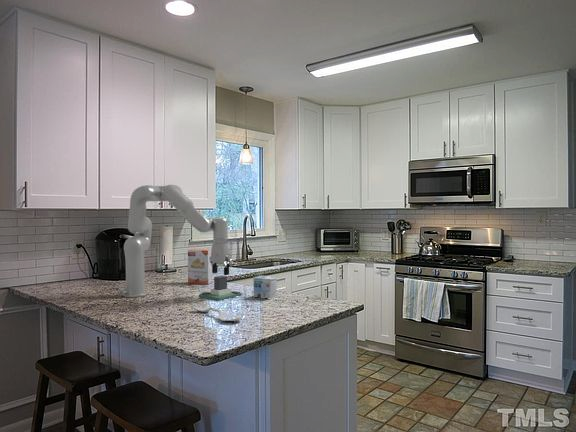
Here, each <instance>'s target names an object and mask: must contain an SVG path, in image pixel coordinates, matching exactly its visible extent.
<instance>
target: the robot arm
mask: <svg viewBox="0 0 576 432" xmlns="http://www.w3.org/2000/svg"><path fill="white" fill-rule="evenodd" d="M129 201H130V202H129V212H128V220H127V221H128V223H127V229H128V232H130V233H131V234H133V235H134V236H131V237H129V238H127V239H125V242H124V244H123V251H124V257H125V261H124V262H125V286H124V287H123V288H122V289H117V290H116V294H117V295H122V296H123V297H124V298H139V297H145V296H147V295H148V293H149V292H148V291H146V289H145V287H146V285H145V279H146V278H145V257H144V253H145V252H146V251H148V250H149V249H150V248H151V247H150V246H151V243H152V242H151V241H152V231H153V226H152V220H151V219H150V217H148V216H146V215H147V205H146V204H147V202H168V203H169V204H170V205H171V206H172V207H174V208H175V210H176V211H177V212H179V213H180V214H181V216H182V217H183V218H184V219H185V220H186V221H187V223H189V225H191V226H192V227H193V228H194V229H196V230H197V231H198V232H200V233H208V232H213V233H212V234H213V235H212V236H213V237H212V241H213V243H212V245H211V249H210V250H211V256H210V257H209V259H210V262H211V265H212V274H218V271H219V269H218V264H222V265H223V266H224V267H223V276H228V275H230V267H231V265H232V262H233V259H232V258H231V257H230V248H229V242H228V240H229V239H228V235H229V234H228V233H229V232H228V229H229V228H228V225H229V224H228V222H229V221H228V219H227V218H225V217H224V218H223V217H216V218H214V217H205V216H203V214H201V213H200V212H199V211H198V210H197V208H196V207H195V206H194V203H193V201H192V200H191V199H190V198H189V197H188V196H186V195H185V194H184V193H183V190H182V188H181V187H180V186H178V185H176V184H166V185H149V184H147V185H141V186H139V187H137V188H135V189H134V190H133V191H132V193H131V196H130V200H129Z"/></svg>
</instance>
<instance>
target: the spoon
mask: <svg viewBox="0 0 576 432" xmlns="http://www.w3.org/2000/svg"><path fill="white" fill-rule="evenodd" d="M189 307H190V308H191V309H193V310H196V311H199V312H202V313H208V312H209V311H212V312H217V313H218V318H217V319H219V321H222V322H225V321H234V322H237V321H239V320H240V321H241V319H243V316H240V315H235V314H231V313H229V312H228V313H227V312H225V311H222V310H220V308H215V307H211V306H210V305H209V303H208V302H207V301H206V302H205V303H203V304H200V305H191V304H190V305H189ZM228 317H235V319H230V320H225V319H224V318H228Z"/></svg>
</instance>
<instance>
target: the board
mask: <svg viewBox="0 0 576 432" xmlns="http://www.w3.org/2000/svg"><path fill="white" fill-rule="evenodd" d="M241 295H242V296H243V292H241V291H236V290H234V291H232V288H231V287H227V289H224V290H214V288H211V289H210V291H204V292H201V293H199V295H198V297H199V298H202V299H207V300H212V299H213V301H217V300H222V301H225V300H224V299H227V300H230V299H229V298H231V299H233V298H232V297H235V298H237V297H236V296H239V297H242V296H241Z"/></svg>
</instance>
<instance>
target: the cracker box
mask: <svg viewBox="0 0 576 432" xmlns="http://www.w3.org/2000/svg"><path fill="white" fill-rule="evenodd" d="M211 250H212V249H201V248H200V249H199V248H198V249H197V248H190V249H188V250H187V283H188V284H195V285H210V284H213V273H212V265H211V262H210V259H209V257H210V256H211Z"/></svg>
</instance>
